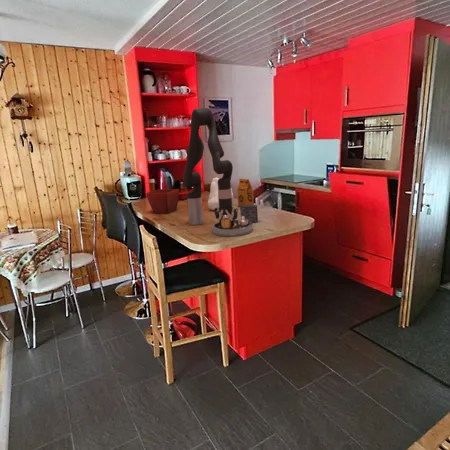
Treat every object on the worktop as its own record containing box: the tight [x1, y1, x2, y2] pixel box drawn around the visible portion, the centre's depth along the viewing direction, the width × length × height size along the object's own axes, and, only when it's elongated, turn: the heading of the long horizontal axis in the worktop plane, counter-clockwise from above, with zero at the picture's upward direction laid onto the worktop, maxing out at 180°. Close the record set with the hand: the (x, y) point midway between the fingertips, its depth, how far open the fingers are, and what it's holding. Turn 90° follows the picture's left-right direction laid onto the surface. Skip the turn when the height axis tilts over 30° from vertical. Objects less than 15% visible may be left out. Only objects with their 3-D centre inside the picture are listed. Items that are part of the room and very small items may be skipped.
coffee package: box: [236, 178, 255, 208], centre depth 263 cm, size 10×12×22 cm
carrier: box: [212, 215, 253, 238], centre depth 198 cm, size 23×23×8 cm
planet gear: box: [221, 217, 232, 229], centre depth 192 cm, size 6×6×5 cm
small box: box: [239, 204, 259, 224], centre depth 217 cm, size 11×6×10 cm, turn 81°
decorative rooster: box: [207, 177, 234, 211], centre depth 255 cm, size 25×16×25 cm, turn 26°
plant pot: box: [145, 188, 180, 214], centre depth 265 cm, size 19×19×17 cm
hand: (227, 226), depth 192 cm, fingers closed on planet gear, 6 cm apart
